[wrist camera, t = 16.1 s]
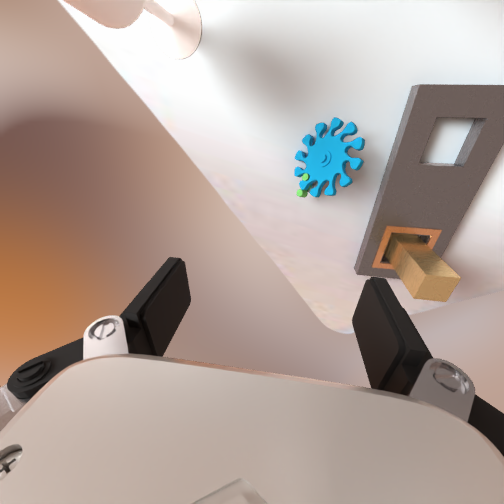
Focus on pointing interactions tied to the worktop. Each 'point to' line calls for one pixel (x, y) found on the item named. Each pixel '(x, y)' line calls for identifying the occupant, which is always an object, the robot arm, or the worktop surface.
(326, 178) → the gear
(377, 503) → the robot arm
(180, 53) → the champagne flute
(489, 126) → the rail plate
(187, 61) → the worktop surface
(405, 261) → the peg
